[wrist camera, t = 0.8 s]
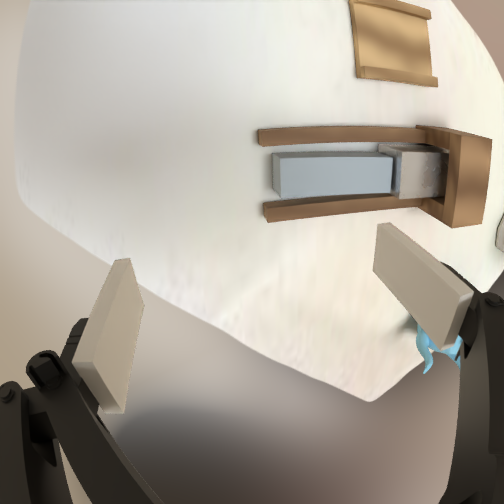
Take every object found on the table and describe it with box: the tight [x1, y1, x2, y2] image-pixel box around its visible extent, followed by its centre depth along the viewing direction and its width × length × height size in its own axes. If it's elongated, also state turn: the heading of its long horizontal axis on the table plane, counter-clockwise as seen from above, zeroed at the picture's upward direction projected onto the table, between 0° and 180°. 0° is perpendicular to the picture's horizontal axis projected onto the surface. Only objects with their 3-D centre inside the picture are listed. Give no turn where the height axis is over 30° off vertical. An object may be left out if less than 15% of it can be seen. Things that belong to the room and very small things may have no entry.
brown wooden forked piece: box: [258, 125, 492, 228], centre depth 29 cm, size 10×24×8 cm, turn 95°
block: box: [378, 144, 449, 199], centre depth 31 cm, size 11×5×5 cm, turn 94°
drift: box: [272, 151, 393, 199], centre depth 30 cm, size 12×4×4 cm, turn 93°
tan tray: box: [349, 0, 438, 87], centre depth 25 cm, size 10×10×2 cm
